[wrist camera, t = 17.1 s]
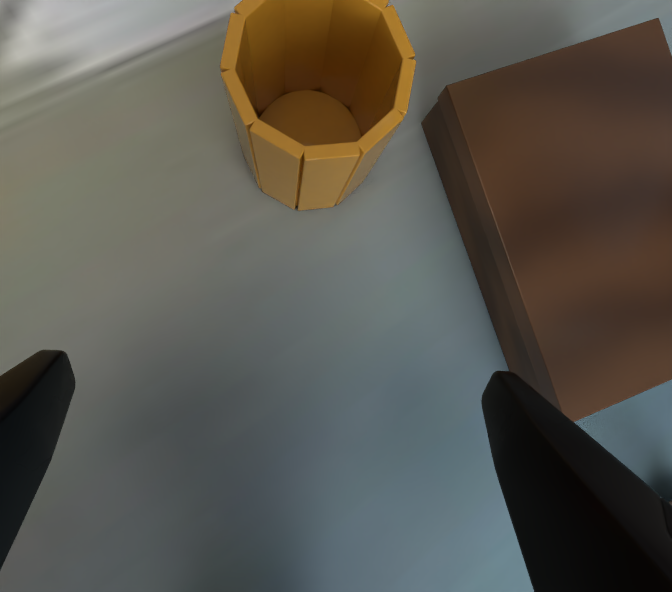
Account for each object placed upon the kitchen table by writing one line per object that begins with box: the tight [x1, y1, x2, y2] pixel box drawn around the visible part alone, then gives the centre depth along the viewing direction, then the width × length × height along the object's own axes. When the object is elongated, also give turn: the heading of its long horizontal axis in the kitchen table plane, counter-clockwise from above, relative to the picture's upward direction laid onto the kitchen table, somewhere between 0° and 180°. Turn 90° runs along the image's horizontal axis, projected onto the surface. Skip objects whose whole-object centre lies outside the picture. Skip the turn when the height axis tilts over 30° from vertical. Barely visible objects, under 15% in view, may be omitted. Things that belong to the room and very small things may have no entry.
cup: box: [220, 0, 416, 211], centre depth 19 cm, size 6×7×8 cm
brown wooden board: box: [421, 18, 672, 422], centre depth 22 cm, size 16×11×4 cm
